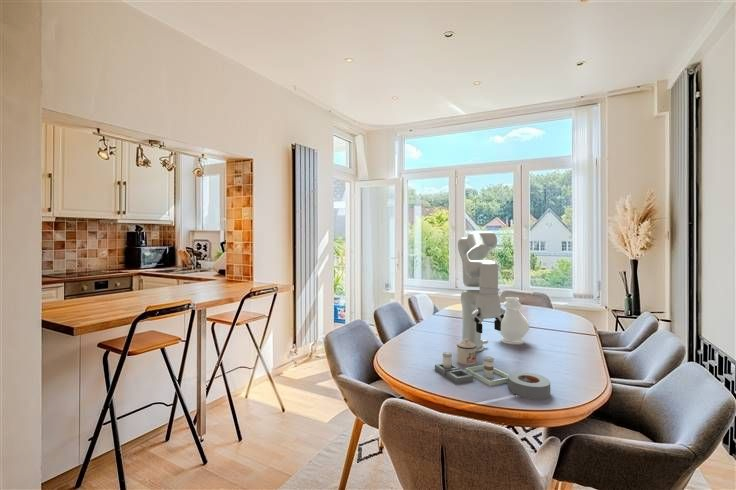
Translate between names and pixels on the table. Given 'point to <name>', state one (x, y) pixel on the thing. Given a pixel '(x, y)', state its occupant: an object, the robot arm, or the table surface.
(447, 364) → the cylinder
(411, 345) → the table surface
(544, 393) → the tape roll
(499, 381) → the parts tray
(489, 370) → the fuse
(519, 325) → the decorative vase
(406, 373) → the table surface
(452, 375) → the fuse holder
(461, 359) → the teacup with lid
